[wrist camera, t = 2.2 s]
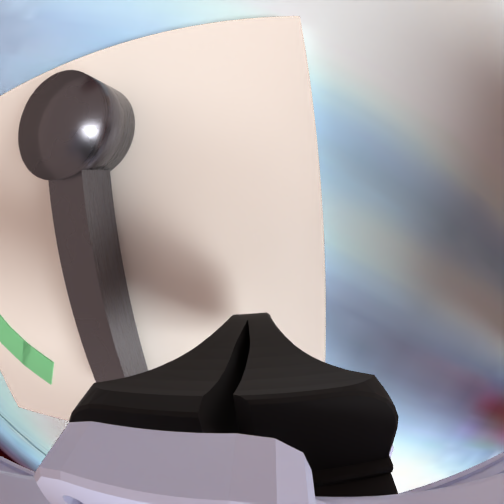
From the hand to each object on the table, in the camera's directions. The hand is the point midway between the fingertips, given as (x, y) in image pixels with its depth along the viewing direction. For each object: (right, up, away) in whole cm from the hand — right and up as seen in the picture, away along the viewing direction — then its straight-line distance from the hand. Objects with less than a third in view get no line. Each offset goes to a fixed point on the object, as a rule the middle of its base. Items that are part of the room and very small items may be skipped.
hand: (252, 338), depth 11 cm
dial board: (-8, +3, +3) cm, 8 cm away
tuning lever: (-6, +3, +1) cm, 7 cm away
